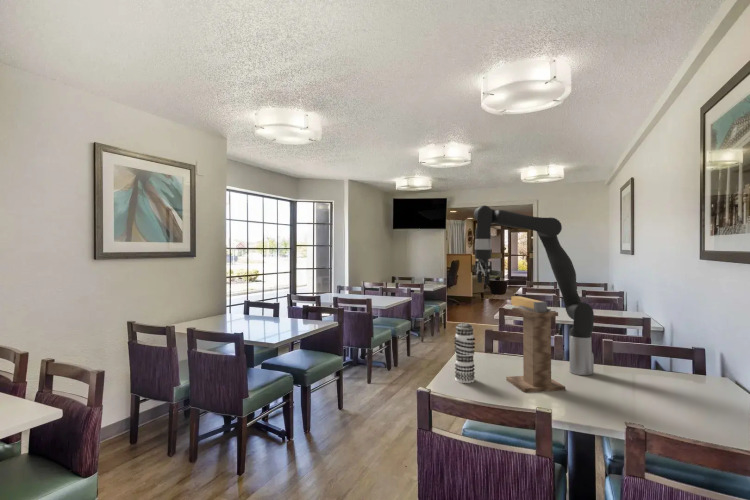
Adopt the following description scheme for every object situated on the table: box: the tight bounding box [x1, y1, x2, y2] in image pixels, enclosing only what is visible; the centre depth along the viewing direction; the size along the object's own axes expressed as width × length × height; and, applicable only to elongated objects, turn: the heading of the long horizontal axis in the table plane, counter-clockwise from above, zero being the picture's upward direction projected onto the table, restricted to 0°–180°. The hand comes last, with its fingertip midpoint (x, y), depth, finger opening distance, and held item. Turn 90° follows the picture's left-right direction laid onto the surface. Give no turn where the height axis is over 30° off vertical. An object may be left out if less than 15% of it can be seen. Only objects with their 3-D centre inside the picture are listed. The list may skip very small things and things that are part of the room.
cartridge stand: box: [505, 305, 566, 393], centre depth 176 cm, size 18×16×33 cm
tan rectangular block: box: [510, 295, 548, 312], centre depth 181 cm, size 5×23×4 cm, turn 8°
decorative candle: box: [453, 322, 476, 384], centre depth 183 cm, size 9×9×25 cm
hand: (483, 283), depth 193 cm, fingers open, 8 cm apart
